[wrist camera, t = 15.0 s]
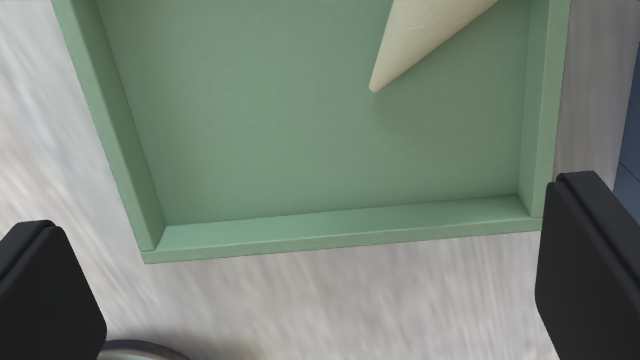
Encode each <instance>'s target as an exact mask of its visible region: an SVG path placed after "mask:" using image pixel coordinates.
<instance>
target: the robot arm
mask: <svg viewBox="0 0 640 360" xmlns="http://www.w3.org/2000/svg"><path fill="white" fill-rule="evenodd" d="M535 301H536V306H537V309H538V312H539V314H540V316H541V319H542V321H543V323H544V325H545V327H546V330H547V332H548V334H549V336H550V339H551V341H552V343H553V345H554V348H555V350H556V352H557V354H558V356H559V359H560V360H640V225H639V224H638V223H637V222H636V220H635V219H634V218H633V217H632V216H631V214H630V213H629V212H628V211H627V210H626V208H625V207H624V206H623V205H622V204H621V202H620V201H619V200H618V199H617V198H616V196H615V195H614V194H613V193H612V191H611V190H610V189H609V188H608V187H607V185H606V184H605V183H604V182H603V181H602V179H601V178H600V177H599V176H598V175H597V173H595V172H594V171H580V172H569V173H560V174H559V175H558V176H557V178H556V182H549V183H548V184H547V187H546V193H545V202H544V211H543V220H542V229H541V238H540V247H539V256H538V265H537V274H536V283H535ZM106 335H107V326H106V322H105V320H104V318H103V315H102V313H101V311H100V309H99V307H98V304H97V302H96V300H95V298H94V295H93V293H92V291H91V289H90V287H89V284H88V282H87V280H86V278H85V276H84V273H83V271H82V269H81V267H80V264H79V262H78V260H77V258H76V256H75V253H74V251H73V249H72V247H71V245H70V242H69V240H68V238H67V236H66V234H65V232H64V230H63V229H62V228H61V227H59V226H56V225H55V224H54V223H53V222H52V221H50V220H38V221H27V222H20V223H17V224H16V225H14V226H13V227H12V229H11V230H10V231H9V232H8V233H7V234H6V235H5V237H4V238H3V239H2V240H1V241H0V360H96V359H97V357H98V355H99V353H100V351H101V349H102V347H103V345H104V342H105V340H106Z"/></svg>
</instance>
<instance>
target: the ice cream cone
mask: <svg viewBox="0 0 640 360" xmlns="http://www.w3.org/2000/svg"><path fill="white" fill-rule="evenodd" d="M497 1H498V0H394V1H393V4H392V8H391V11H390V15H389V18H388V21H387V25H386V28H385V32H384V35H383V39H382V42H381V46H380V49H379V53H378V56H377V60H376V63H375V67H374V70H373V73H372V77H371V80H370V84H369V89H370V90H371V91H372V92H375V93H377V92H379V91H380V90H381V89H383V88H384V87H385V86H387V85H388V84H389V83H391V82H392V81H393V80H395V79H396V78H397V77H399V76H400V75H401V74H403V73H404V72H405V71H407V70H408V69H409V68H411V67H412V66H413V65H415V64H416V63H417V62H418V61H420V60H421V59H422V58H424V57H425V56H426V55H428V54H429V53H430V52H432V51H433V50H434V49H436V48H437V47H438V46H440V45H441V44H442V43H444V42H445V41H446V40H448V39H449V38H450V37H452V36H453V35H454V34H455V33H457V32H458V31H459V30H461V29H462V28H463V27H465V26H466V25H467V24H469V23H470V22H471V21H473V20H474V19H475V18H477V17H478V16H479V15H481V14H482V13H483V12H485V11H486V10H487V9H488V8H489V7H491V6H492V5H493V4H494V3H496V2H497Z"/></svg>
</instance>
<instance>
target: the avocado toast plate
mask: <svg viewBox="0 0 640 360" xmlns="http://www.w3.org/2000/svg"><path fill="white" fill-rule="evenodd" d="M96 360H190V359H189V358H187V357H186V356H184V355H182V354H180V353H178V352H176V351H174V350H172V349H170V348H167V347H164V346H161V345H157V344H154V343H149V342H144V341H139V340H111V341H105V342H104V345H103V347H102V349H101V351H100V353H99V355H98V357H97V359H96Z"/></svg>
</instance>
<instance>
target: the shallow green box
mask: <svg viewBox="0 0 640 360" xmlns="http://www.w3.org/2000/svg"><path fill="white" fill-rule="evenodd" d="M393 1H394V0H51V3H52V6H53V8H54V11H55V14H56V17H57V20H58V22H59V25H60V28H61V31H62V34H63V37H64V39H65V42H66V45H67V48H68V51H69V53H70V56H71V59H72V62H73V65H74V67H75V70H76V73H77V76H78V79H79V81H80V84H81V87H82V90H83V93H84V96H85V98H86V101H87V104H88V107H89V110H90V112H91V115H92V118H93V121H94V124H95V126H96V129H97V132H98V135H99V138H100V140H101V143H102V146H103V149H104V152H105V154H106V157H107V160H108V163H109V166H110V169H111V171H112V174H113V177H114V180H115V183H116V185H117V188H118V191H119V194H120V197H121V199H122V202H123V205H124V208H125V211H126V213H127V216H128V219H129V222H130V225H131V228H132V230H133V233H134V236H135V239H136V242H137V244H138V247H139V250H140V251H141V256H142V258H143V261H144V264H155V263H166V262H178V261H190V260H201V259H213V258H225V257H237V256H248V255H260V254H272V253H283V252H295V251H307V250H318V249H330V248H342V247H353V246H365V245H377V244H388V243H400V242H412V241H423V240H435V239H447V238H459V237H470V236H482V235H494V234H505V233H517V232H529V231H540V230H541V229H542V220H543V211H544V202H545V193H546V187H547V184H548V183H549V182H552V178H553V168H554V159H555V149H556V140H557V130H558V121H559V111H560V102H561V92H562V83H563V74H564V64H565V55H566V45H567V36H568V26H569V17H570V7H571V0H498V1H497V2H496V3H494V4H493V5H492V6H491V7H489V8H488V9H487V10H486V11H485V12H483V13H482V14H481V15H479V16H478V17H477V18H475V19H474V20H473V21H471V22H470V23H469V24H467V25H466V26H465V27H463V28H462V29H461V30H459V31H458V32H457V33H455V34H454V35H453V36H452V37H450V38H449V39H448V40H446V41H445V42H444V43H442V44H441V45H440V46H438V47H437V48H436V49H434V50H433V51H432V52H430V53H429V54H428V55H426V56H425V57H424V58H422V59H421V60H420V61H418V62H417V63H416V64H415V65H413V66H412V67H411V68H409V69H408V70H407V71H405V72H404V73H403V74H401V75H400V76H399V77H397V78H396V79H395V80H393V81H392V82H391V83H389V84H388V85H387V86H385V87H384V88H383V89H381V90H380V91H379V92H377V93H375V92H372V91H371V90H370V89H369V84H370V80H371V77H372V73H373V70H374V67H375V63H376V60H377V56H378V53H379V49H380V46H381V42H382V39H383V35H384V32H385V28H386V25H387V21H388V18H389V15H390V11H391V8H392V4H393Z"/></svg>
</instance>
